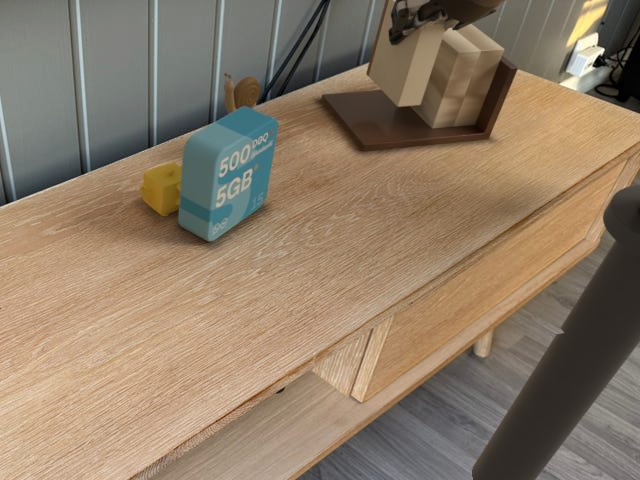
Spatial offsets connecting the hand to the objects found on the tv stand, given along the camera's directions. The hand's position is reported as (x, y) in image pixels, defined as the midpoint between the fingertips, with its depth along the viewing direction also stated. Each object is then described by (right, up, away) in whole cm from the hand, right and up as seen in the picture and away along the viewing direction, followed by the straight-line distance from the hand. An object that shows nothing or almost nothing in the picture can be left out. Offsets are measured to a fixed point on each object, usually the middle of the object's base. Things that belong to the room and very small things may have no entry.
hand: (406, 37), depth 97 cm
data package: (-26, -27, -10) cm, 39 cm away
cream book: (0, -5, +5) cm, 7 cm away
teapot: (-32, -25, -9) cm, 42 cm away
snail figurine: (-23, -16, +1) cm, 28 cm away
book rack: (+3, -8, +9) cm, 12 cm away
